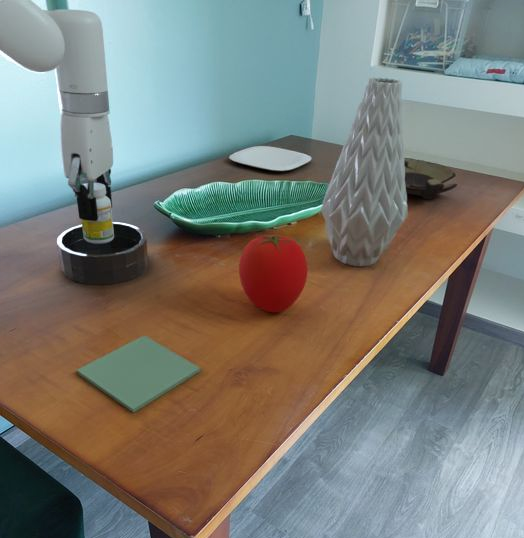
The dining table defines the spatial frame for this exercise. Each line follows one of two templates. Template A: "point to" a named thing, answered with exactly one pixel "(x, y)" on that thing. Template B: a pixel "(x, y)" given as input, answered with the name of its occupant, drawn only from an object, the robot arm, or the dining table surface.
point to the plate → (270, 158)
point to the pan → (103, 256)
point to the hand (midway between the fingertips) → (96, 212)
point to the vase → (369, 179)
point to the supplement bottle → (99, 218)
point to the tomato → (273, 272)
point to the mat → (138, 372)
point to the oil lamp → (426, 178)
